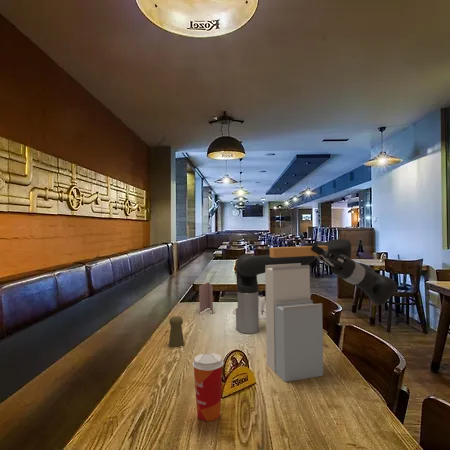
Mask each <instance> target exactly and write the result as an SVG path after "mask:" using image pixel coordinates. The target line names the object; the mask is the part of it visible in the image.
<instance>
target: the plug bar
mask: <svg viewBox="0 0 450 450" xmlns="http://www.w3.org/2000/svg"><path fill="white" fill-rule="evenodd" d="M319 247H320V248H322V249H325V250H327V251H328V246H319ZM311 248H312V246H307V245H304V246H281V247H279V246H278V247H269V254H270V257H273V258H278V257H298V256H319V254H317V253H315V252H314V251H312V250H311ZM320 255H321V254H320Z"/></svg>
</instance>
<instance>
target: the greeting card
mask: <svg viewBox="0 0 450 450" xmlns="http://www.w3.org/2000/svg"><path fill="white" fill-rule="evenodd" d="M198 291H199V293H198V295H199V296H198V298H199V301H198V302H199V313H200V312H202V311H204V310H205V309H207V308H210V310H211V311H212V313H213V314H214V306H213V304H214V303H213V299H214V298H213V293H214V292H213V285H212V284H211V283H210V282H207V283H203V284H201V285H199V286H198ZM210 310H209V311H210ZM212 313H211V314H212Z"/></svg>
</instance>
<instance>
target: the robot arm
mask: <svg viewBox="0 0 450 450" xmlns="http://www.w3.org/2000/svg"><path fill="white" fill-rule="evenodd" d="M306 246H312V248H311V250H312V251H314V252H315V253H317V254H319V256H298V257H278V258H273V257H270V253H269V254H264V255H263V254H261V255H251V254H249V253H246V254H242V255H240V256H239V257H238V258H237V260H236V265H235V266H236V267H235V269H236V270H235V273H236V291H237V307H236V308H235V309H236V316H235V330H236V331H238V332H239V333H242V334H257V333H258V332H260V320H259V297H258V296H259V283H258V275H261V274H265V265H279V264H297V263H301V266H302V265H310V264H311V263H312V262H314V261H315V260H318V262H323V263H324V264H325V265H326V266H330V271H331V274H333V275H335V276H337V277H338V278H340V279H342V280H344V281H345V282H347V283H349V284H352V285H353V286H355V287H357V288H358V289H360V290H361V291H362V292H363V293H364V294H365V295H366V297H368V299H369V300H370V301H371V302H372V303H374V304H375V305H377V306H378V305H379V306H383V305H385V304H386V303H387V302H388V301H389V300H390V298H391V297H392V296H393V295H394V294H395V292H396V291H397V289H398V285H397V282H396V281H395V280H394V279H392V278H390V277H388V276H385V275H383V274H380V273H378V272H376V271H374V269H373V268H372V267H370V266H369V265H367V264H365V263H361V262H357V261H356V260H354V259H352V243H351V241H350V240H349V239H346V238H335V239H331V240H328V241H324V242H319V243H315V244H311V243H307V244H306ZM319 246H328V251H327V250H325V249H322V248H320V247H319ZM320 254H321V255H320Z"/></svg>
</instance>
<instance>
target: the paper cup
mask: <svg viewBox="0 0 450 450" xmlns="http://www.w3.org/2000/svg"><path fill="white" fill-rule="evenodd" d="M223 366H224V361H223V358H222V356H221V355H220V354H217V353H214V352H211V353H207V352H206V353H205V354H204V353H200V354H197V355H196V356H194V358H193V361H192V367H193V373H194V374H193V375H194V386H195V387H194V388H195V390H194V392H195V402H196V413H197V414H196V415H197V418H198V419H199V420H200V419H201V421H202V420H203V422H213V421H216V420H218V419H219V417H220V416H221V408H222V405H221V404H222V403H221V402H222V382H223V380H222V379H223Z"/></svg>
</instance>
